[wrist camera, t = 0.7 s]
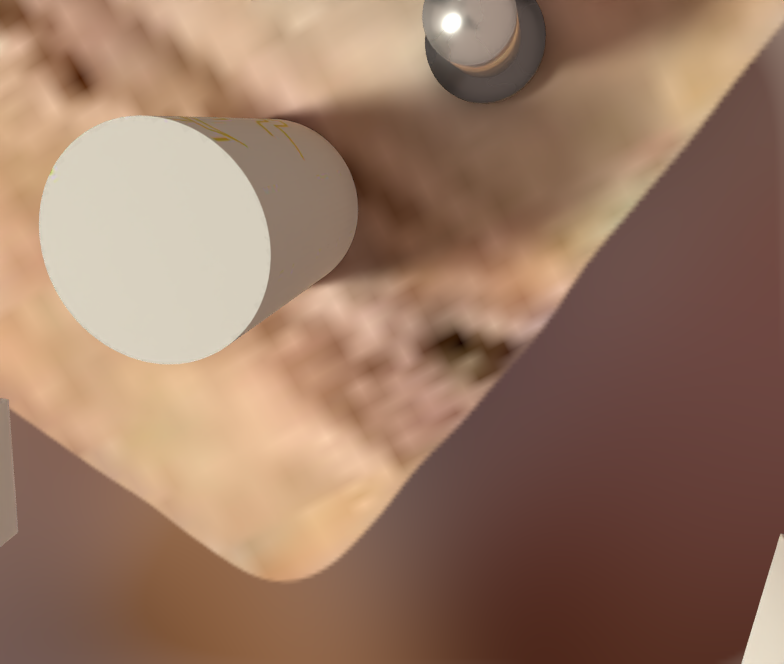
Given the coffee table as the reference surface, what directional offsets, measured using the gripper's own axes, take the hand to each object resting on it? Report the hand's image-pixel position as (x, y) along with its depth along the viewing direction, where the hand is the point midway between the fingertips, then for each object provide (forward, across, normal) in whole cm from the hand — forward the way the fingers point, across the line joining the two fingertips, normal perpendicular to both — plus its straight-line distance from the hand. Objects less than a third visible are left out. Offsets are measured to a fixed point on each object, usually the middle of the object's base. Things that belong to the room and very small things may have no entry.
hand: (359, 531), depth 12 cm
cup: (+23, -10, +2) cm, 25 cm away
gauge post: (+23, 0, +10) cm, 25 cm away
